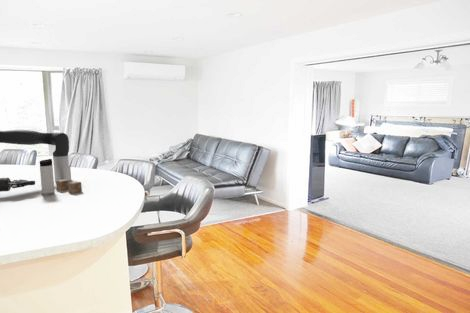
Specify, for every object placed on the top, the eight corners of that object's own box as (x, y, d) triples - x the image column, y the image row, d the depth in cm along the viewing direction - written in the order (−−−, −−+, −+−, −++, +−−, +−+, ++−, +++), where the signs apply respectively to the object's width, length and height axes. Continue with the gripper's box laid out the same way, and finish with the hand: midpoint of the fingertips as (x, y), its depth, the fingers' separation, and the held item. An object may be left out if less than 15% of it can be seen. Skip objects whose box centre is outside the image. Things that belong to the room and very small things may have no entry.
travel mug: (57, 192, 189) (55, 159, 187) (47, 195, 183) (45, 160, 181) (49, 192, 191) (46, 158, 189) (39, 194, 185) (36, 160, 183)
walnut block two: (64, 188, 200) (63, 179, 199) (69, 189, 198) (68, 179, 197) (56, 190, 196) (55, 180, 195) (61, 191, 193) (60, 181, 193)
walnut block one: (76, 191, 194) (75, 181, 193) (81, 192, 192) (81, 181, 191) (68, 192, 190) (68, 182, 189) (73, 193, 187) (73, 183, 187)
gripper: (-7, 180, 172) (30, 178, 178) (2, 176, 185) (37, 174, 190) (-5, 194, 173) (32, 191, 179) (4, 188, 186) (38, 186, 191)
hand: (34, 182), depth 184 cm, fingers closed
